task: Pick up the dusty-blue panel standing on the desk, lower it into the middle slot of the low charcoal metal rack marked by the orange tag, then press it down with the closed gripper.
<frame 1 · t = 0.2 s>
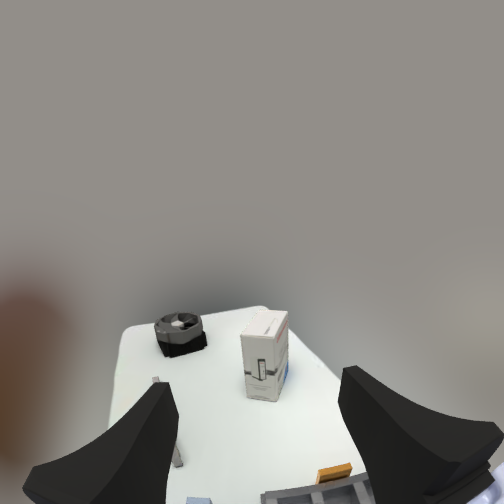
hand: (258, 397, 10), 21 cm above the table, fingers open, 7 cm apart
ink box: (269, 385, 41), on the table
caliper: (165, 417, 33), on the table
cpu cooler: (181, 345, 55), on the table
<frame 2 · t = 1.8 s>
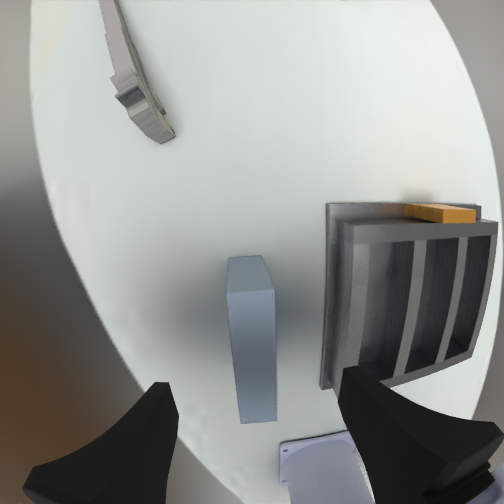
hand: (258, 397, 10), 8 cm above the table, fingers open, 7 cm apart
panel rack: (411, 295, 18), on the table
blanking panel: (248, 315, 18), on the table
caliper: (124, 32, 13), on the table
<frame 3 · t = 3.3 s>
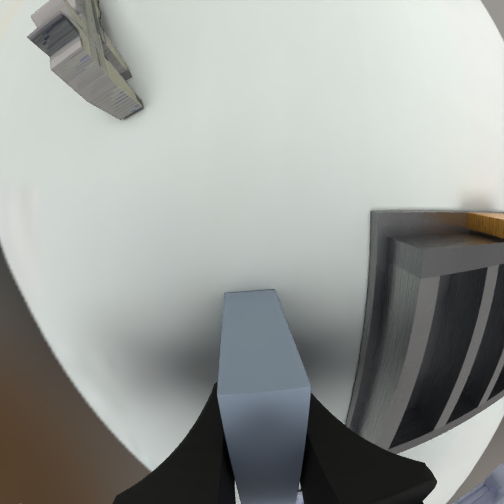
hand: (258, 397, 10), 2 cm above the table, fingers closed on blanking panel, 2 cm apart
panel rack: (460, 328, 13), on the table
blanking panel: (254, 370, 12), on the table, touching gripper
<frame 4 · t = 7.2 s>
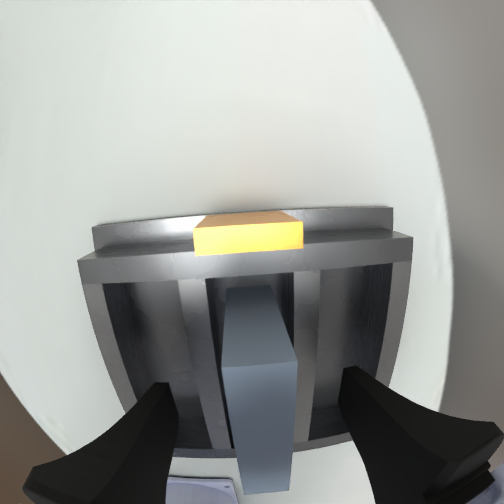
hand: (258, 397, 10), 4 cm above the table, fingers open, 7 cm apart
panel rack: (252, 346, 14), on the table
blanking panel: (253, 358, 14), point 1 cm above the table, touching panel rack
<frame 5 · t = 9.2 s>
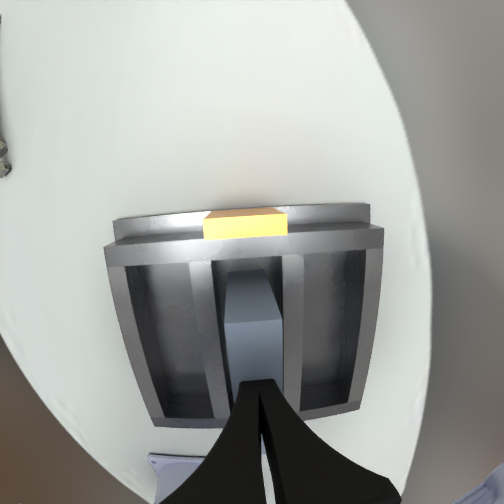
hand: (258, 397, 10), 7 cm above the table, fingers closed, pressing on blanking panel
panel rack: (249, 324, 17), on the table
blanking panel: (250, 334, 16), point 1 cm above the table, touching gripper, panel rack
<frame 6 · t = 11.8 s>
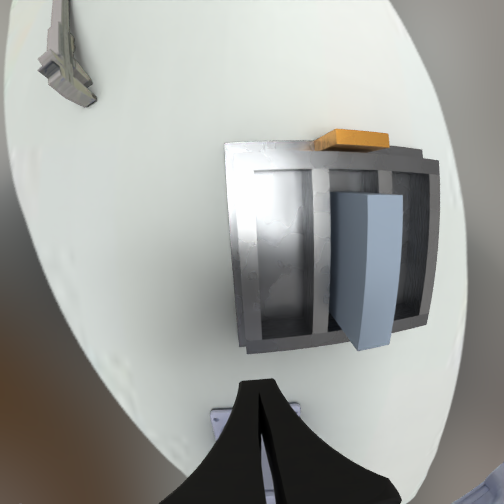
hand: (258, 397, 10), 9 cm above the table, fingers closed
panel rack: (337, 244, 19), on the table
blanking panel: (340, 250, 18), point 1 cm above the table, touching panel rack
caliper: (73, 25, 13), on the table
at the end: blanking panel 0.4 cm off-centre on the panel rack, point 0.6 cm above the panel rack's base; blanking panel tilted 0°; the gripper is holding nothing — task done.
